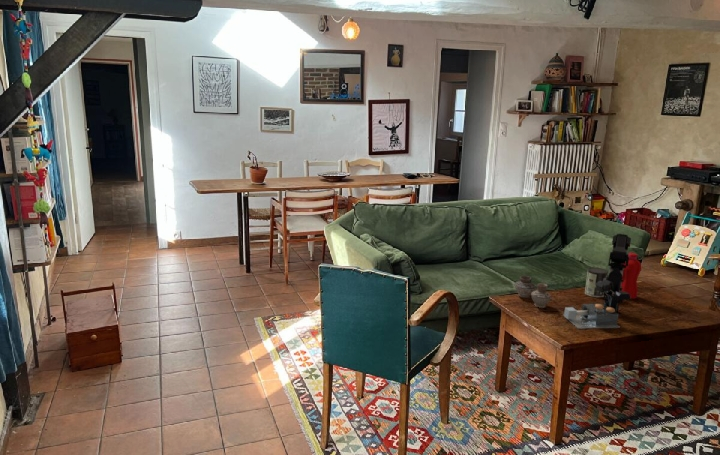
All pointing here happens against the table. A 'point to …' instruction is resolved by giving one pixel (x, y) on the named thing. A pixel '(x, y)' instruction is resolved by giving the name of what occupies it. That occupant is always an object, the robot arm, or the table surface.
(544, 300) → the pottery
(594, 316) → the grey slotted base
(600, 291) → the robot arm
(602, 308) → the plunger
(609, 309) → the plunger
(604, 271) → the coffee can
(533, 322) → the table surface
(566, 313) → the cube-topped plunger
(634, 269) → the water bottle
